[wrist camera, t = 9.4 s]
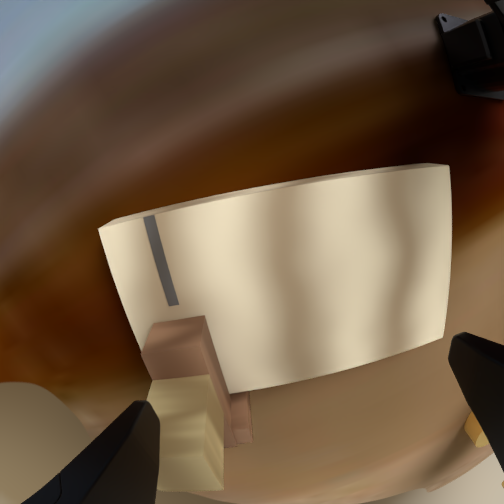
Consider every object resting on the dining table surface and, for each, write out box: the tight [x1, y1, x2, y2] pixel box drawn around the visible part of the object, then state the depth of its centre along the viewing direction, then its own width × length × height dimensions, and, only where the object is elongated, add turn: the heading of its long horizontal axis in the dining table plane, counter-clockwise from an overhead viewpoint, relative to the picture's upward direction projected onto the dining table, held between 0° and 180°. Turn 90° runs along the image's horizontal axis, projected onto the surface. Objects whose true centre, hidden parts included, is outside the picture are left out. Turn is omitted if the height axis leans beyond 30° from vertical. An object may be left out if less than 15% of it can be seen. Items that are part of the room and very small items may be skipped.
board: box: [98, 163, 452, 394], centre depth 18 cm, size 20×12×2 cm, turn 101°
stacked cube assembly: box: [141, 315, 253, 492], centre depth 15 cm, size 5×8×10 cm, turn 11°
